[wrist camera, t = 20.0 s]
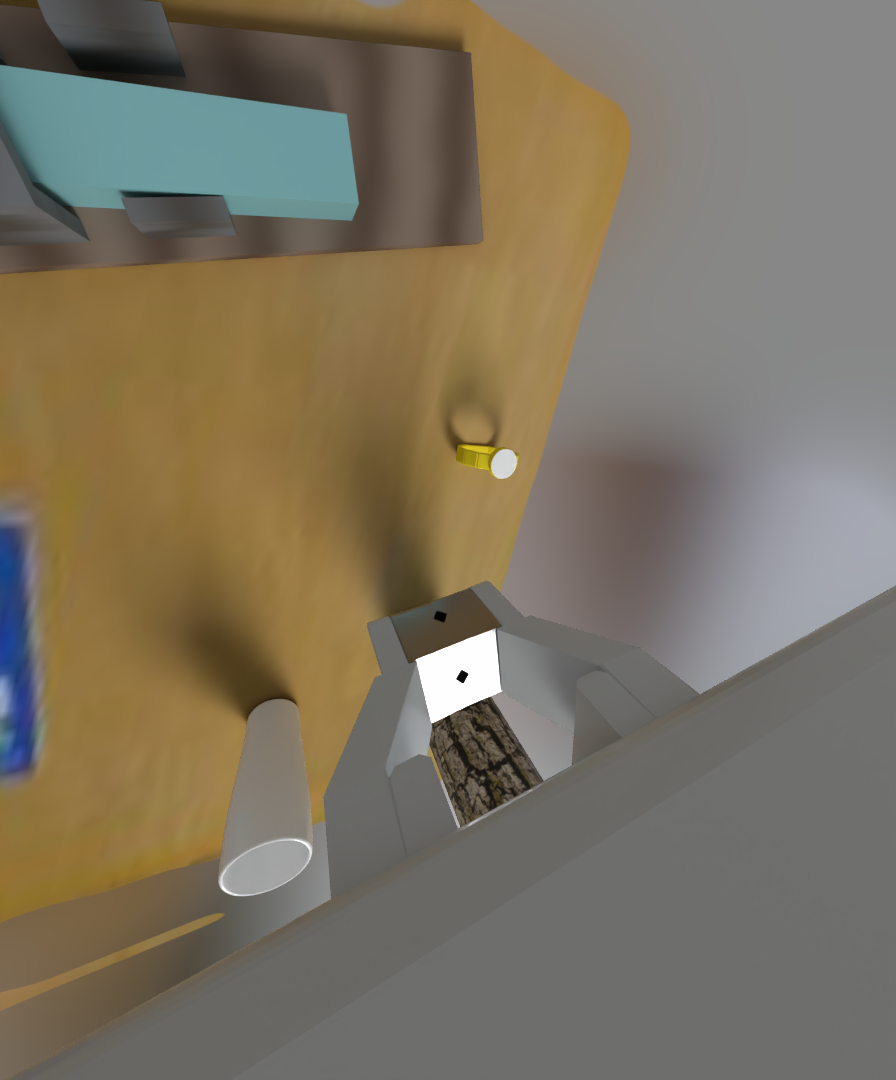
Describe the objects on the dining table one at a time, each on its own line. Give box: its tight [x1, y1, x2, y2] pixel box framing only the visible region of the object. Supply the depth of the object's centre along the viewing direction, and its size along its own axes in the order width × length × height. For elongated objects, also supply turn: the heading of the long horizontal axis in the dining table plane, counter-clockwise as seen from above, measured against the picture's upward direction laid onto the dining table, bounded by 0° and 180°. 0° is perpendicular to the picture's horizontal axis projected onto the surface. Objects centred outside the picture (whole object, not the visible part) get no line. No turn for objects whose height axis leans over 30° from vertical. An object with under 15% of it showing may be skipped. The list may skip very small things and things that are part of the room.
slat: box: [0, 65, 359, 221], centre depth 20 cm, size 20×4×3 cm, turn 93°
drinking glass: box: [218, 699, 312, 896], centre depth 34 cm, size 7×7×15 cm
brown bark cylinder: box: [429, 696, 543, 827], centre depth 33 cm, size 7×7×25 cm
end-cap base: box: [0, 0, 483, 274], centre depth 20 cm, size 32×10×6 cm, turn 97°
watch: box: [456, 444, 519, 479], centre depth 35 cm, size 6×3×6 cm, turn 81°
